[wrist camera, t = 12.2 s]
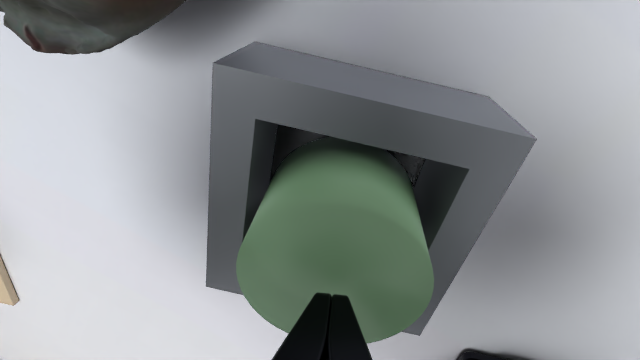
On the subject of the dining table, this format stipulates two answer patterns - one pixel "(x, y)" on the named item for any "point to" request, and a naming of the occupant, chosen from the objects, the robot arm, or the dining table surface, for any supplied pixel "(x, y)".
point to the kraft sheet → (6, 287)
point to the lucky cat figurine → (82, 22)
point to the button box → (362, 127)
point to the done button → (338, 239)
